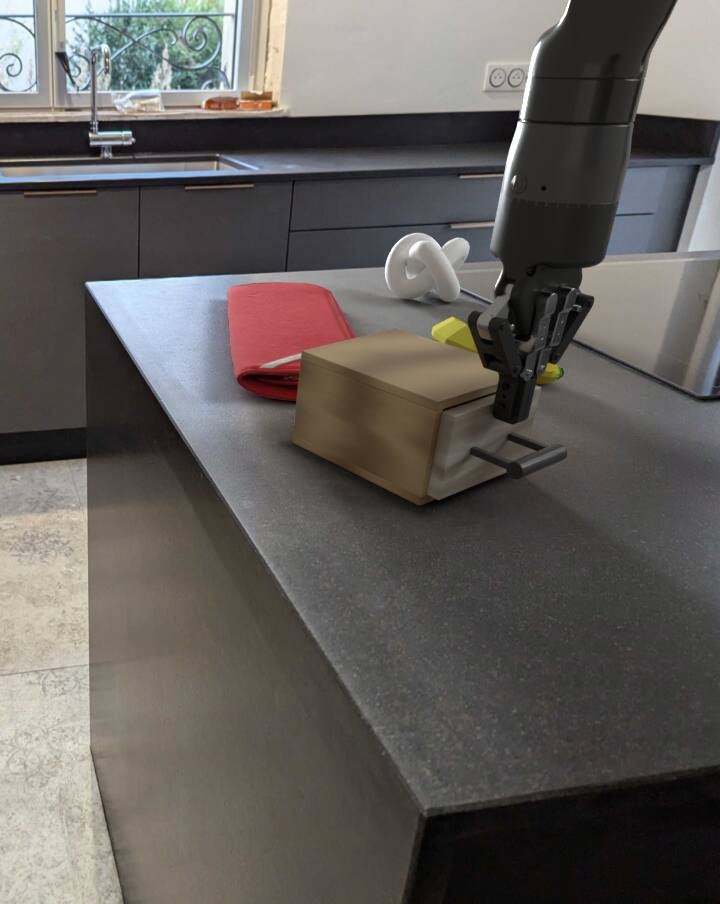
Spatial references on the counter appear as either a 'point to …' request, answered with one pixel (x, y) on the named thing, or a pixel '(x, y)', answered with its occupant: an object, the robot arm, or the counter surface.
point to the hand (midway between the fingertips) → (509, 419)
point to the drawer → (485, 447)
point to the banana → (461, 338)
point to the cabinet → (384, 404)
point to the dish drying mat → (279, 333)
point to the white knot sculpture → (425, 266)
